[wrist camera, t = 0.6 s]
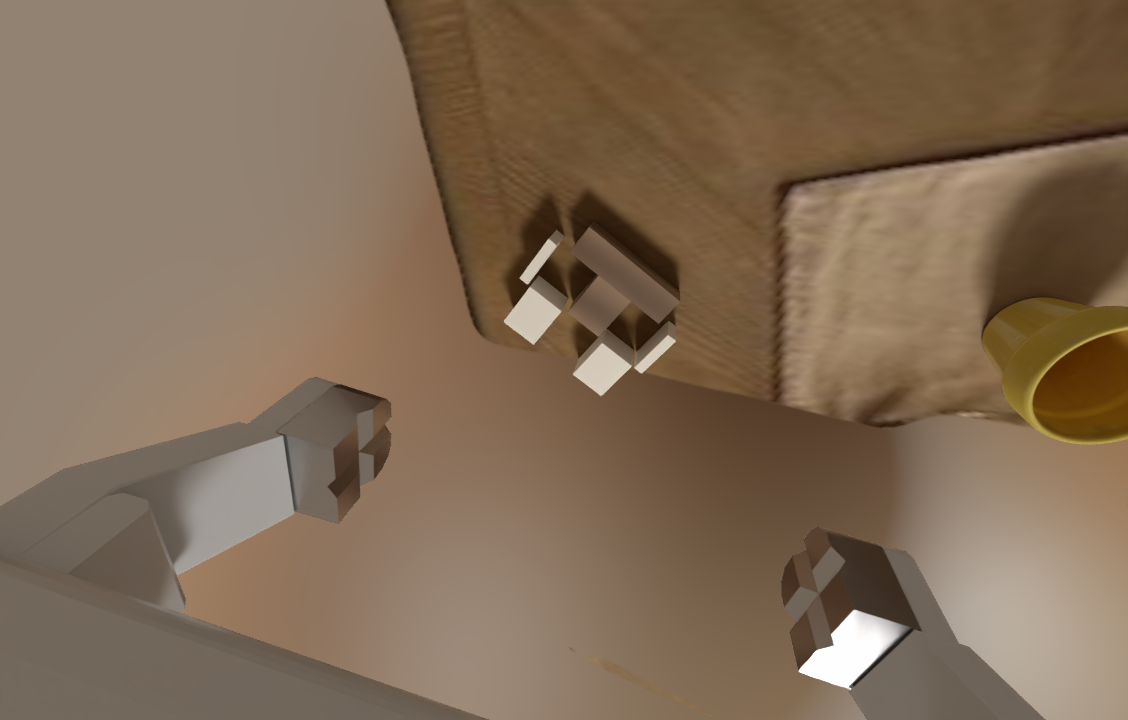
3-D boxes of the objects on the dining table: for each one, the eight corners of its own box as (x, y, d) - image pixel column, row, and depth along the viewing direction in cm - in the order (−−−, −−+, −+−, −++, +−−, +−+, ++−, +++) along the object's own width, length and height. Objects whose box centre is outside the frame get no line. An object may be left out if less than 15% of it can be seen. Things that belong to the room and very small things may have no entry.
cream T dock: (556, 229, 46) (548, 238, 43) (675, 326, 48) (676, 341, 45) (503, 301, 51) (493, 314, 48) (614, 386, 53) (610, 403, 50)
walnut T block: (593, 220, 45) (589, 227, 42) (679, 291, 47) (680, 301, 44) (546, 281, 49) (539, 291, 46) (627, 345, 50) (625, 357, 48)
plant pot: (1109, 356, 41) (1220, 421, 33) (971, 396, 46) (1038, 462, 37) (1093, 254, 38) (1211, 297, 30) (945, 307, 42) (1013, 358, 34)
